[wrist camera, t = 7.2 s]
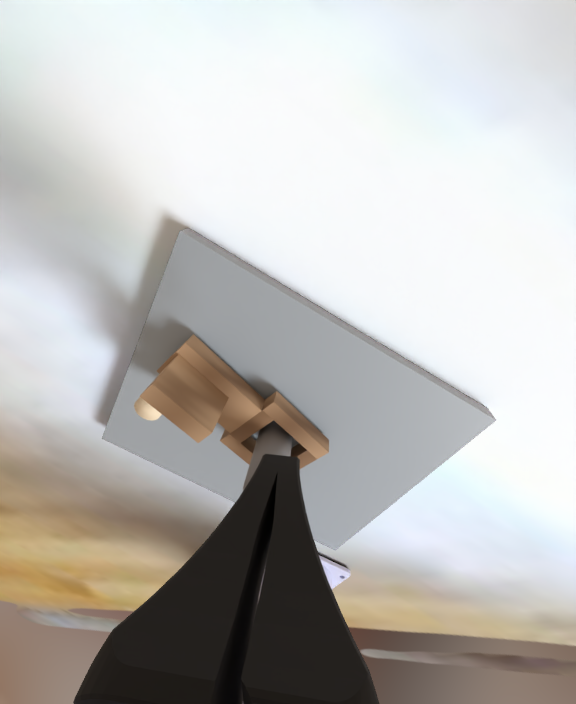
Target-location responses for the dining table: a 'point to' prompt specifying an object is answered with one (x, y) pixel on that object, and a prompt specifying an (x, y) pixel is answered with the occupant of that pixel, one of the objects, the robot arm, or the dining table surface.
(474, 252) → the dining table surface
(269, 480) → the robot arm
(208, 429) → the brown wooden blocky piece
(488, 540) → the dining table surface
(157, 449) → the base board
